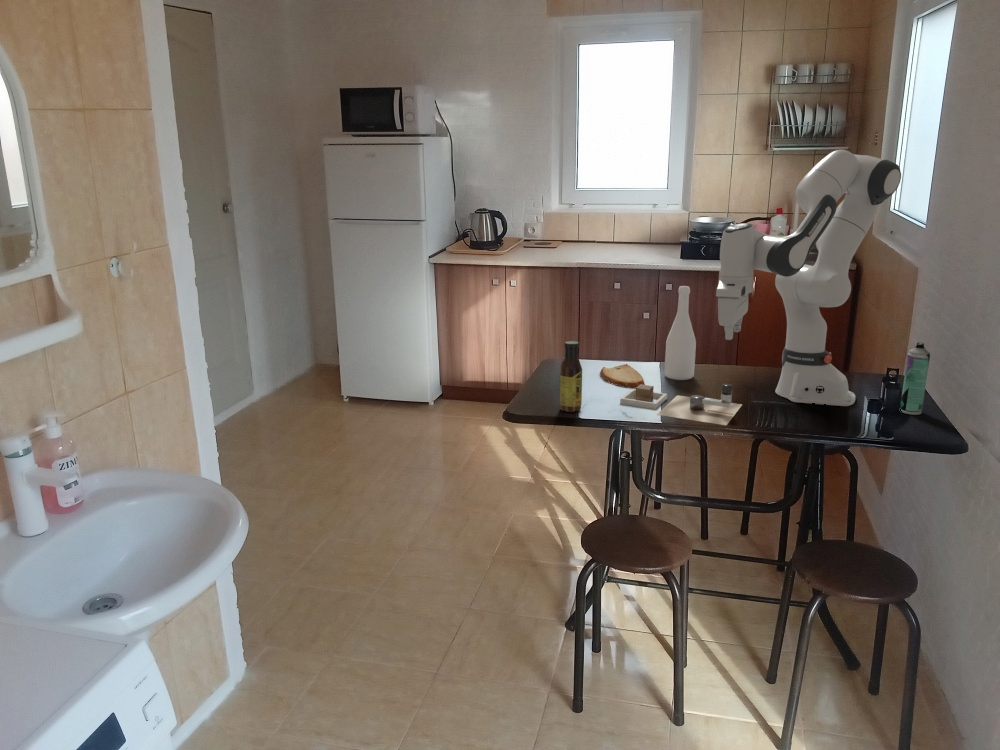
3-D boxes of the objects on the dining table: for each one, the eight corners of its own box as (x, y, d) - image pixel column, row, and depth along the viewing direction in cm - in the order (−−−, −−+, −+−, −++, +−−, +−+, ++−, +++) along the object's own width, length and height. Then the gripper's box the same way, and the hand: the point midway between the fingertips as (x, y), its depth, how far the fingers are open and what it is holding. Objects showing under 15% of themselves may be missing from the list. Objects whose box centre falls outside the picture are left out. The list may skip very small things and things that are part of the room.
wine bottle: (688, 372, 256) (694, 284, 248) (697, 380, 247) (703, 288, 239) (661, 373, 256) (665, 284, 248) (668, 381, 247) (674, 289, 238)
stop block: (639, 400, 225) (640, 384, 223) (652, 402, 223) (653, 386, 221) (635, 404, 221) (635, 387, 220) (648, 406, 219) (649, 389, 218)
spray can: (920, 410, 217) (931, 341, 212) (922, 415, 212) (932, 346, 207) (899, 407, 219) (908, 340, 214) (900, 413, 214) (910, 344, 209)
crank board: (741, 409, 219) (742, 404, 218) (726, 430, 202) (726, 424, 201) (676, 400, 227) (677, 394, 227) (656, 419, 211) (656, 414, 210)
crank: (687, 408, 214) (689, 381, 212) (692, 404, 217) (694, 378, 215) (728, 415, 208) (730, 387, 206) (732, 411, 211) (734, 384, 209)
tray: (666, 403, 224) (667, 393, 223) (655, 413, 215) (656, 403, 214) (632, 398, 229) (632, 389, 228) (620, 408, 220) (620, 398, 219)
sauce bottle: (580, 414, 216) (581, 345, 210) (558, 412, 217) (559, 344, 211) (582, 406, 222) (584, 340, 216) (561, 405, 223) (562, 339, 218)
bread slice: (641, 390, 238) (642, 379, 237) (588, 383, 246) (588, 372, 245) (658, 376, 253) (659, 365, 252) (607, 370, 262) (607, 359, 261)
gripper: (732, 278, 215) (729, 326, 219) (714, 291, 198) (712, 342, 202) (755, 279, 212) (752, 328, 216) (739, 292, 195) (736, 344, 199)
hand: (732, 335), depth 209 cm, fingers open, 8 cm apart
